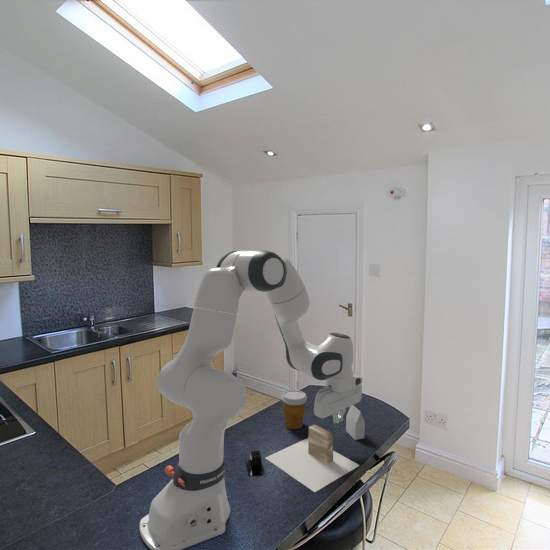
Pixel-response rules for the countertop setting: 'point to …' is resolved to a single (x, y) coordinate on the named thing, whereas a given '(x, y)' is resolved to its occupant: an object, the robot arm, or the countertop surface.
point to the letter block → (320, 443)
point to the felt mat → (310, 466)
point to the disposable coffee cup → (294, 408)
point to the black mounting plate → (254, 464)
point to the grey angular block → (355, 423)
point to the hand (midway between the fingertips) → (338, 421)
